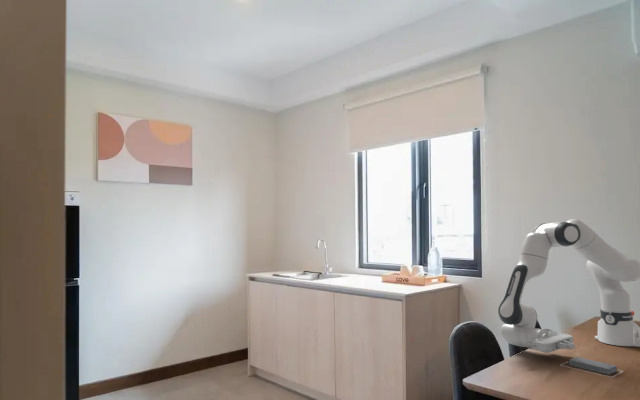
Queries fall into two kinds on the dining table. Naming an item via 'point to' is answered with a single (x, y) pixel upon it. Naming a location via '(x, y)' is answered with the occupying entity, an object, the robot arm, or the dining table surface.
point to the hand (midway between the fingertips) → (573, 346)
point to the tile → (593, 365)
